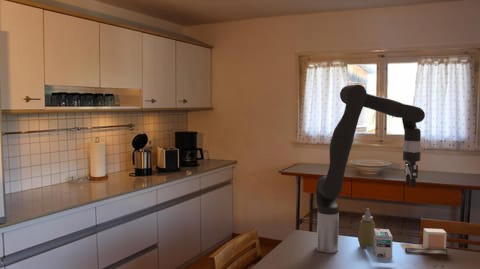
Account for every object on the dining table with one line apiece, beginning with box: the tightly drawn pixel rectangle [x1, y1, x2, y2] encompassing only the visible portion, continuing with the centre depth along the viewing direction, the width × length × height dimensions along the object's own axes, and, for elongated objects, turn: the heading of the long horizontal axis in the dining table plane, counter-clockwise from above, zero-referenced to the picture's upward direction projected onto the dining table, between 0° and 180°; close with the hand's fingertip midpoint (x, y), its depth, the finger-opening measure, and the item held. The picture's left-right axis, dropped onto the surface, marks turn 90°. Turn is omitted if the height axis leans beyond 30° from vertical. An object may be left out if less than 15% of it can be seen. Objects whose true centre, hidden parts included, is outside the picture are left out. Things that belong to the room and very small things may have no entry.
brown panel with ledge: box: [399, 242, 448, 255], centre depth 192 cm, size 17×12×4 cm
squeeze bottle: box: [357, 207, 376, 250], centre depth 198 cm, size 8×8×18 cm
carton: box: [422, 227, 447, 249], centre depth 189 cm, size 5×8×9 cm, turn 82°
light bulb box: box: [373, 227, 393, 259], centre depth 186 cm, size 11×7×11 cm, turn 168°
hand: (410, 185), depth 201 cm, fingers open, 8 cm apart
